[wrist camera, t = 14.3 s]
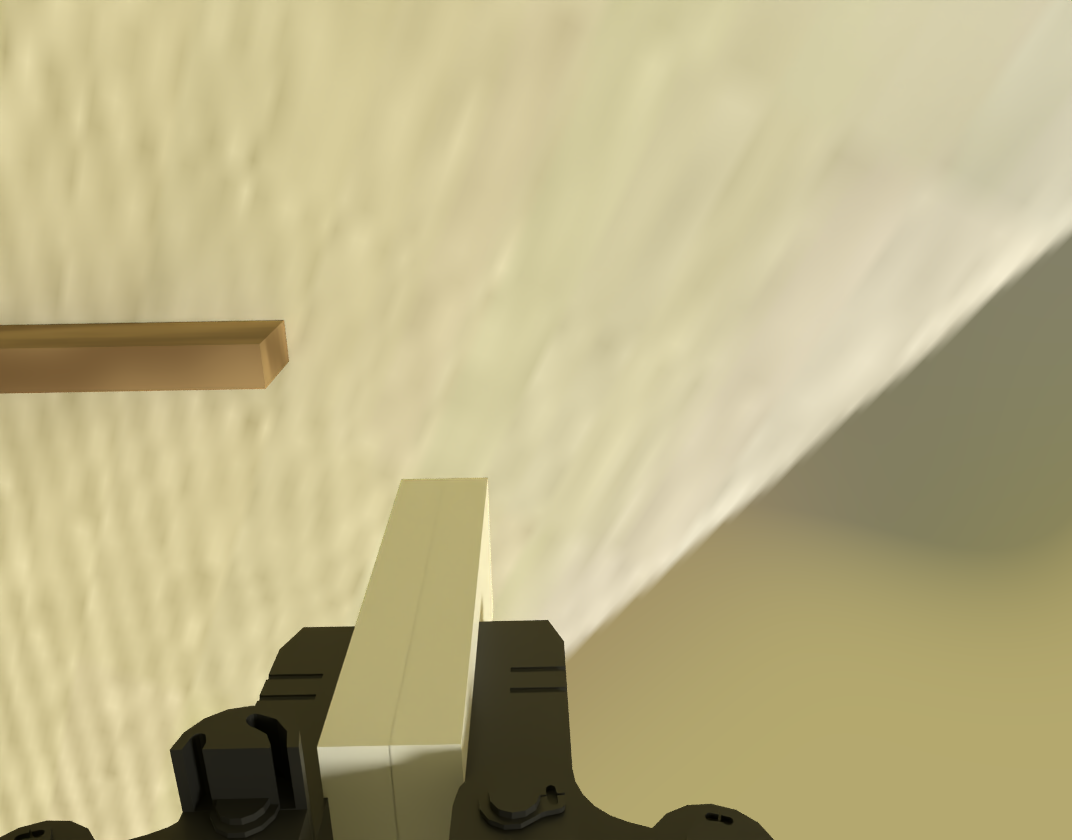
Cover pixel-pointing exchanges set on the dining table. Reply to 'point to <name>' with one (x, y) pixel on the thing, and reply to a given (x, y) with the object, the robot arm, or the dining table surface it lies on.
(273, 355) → the brown wooden bar frame
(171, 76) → the dining table surface
